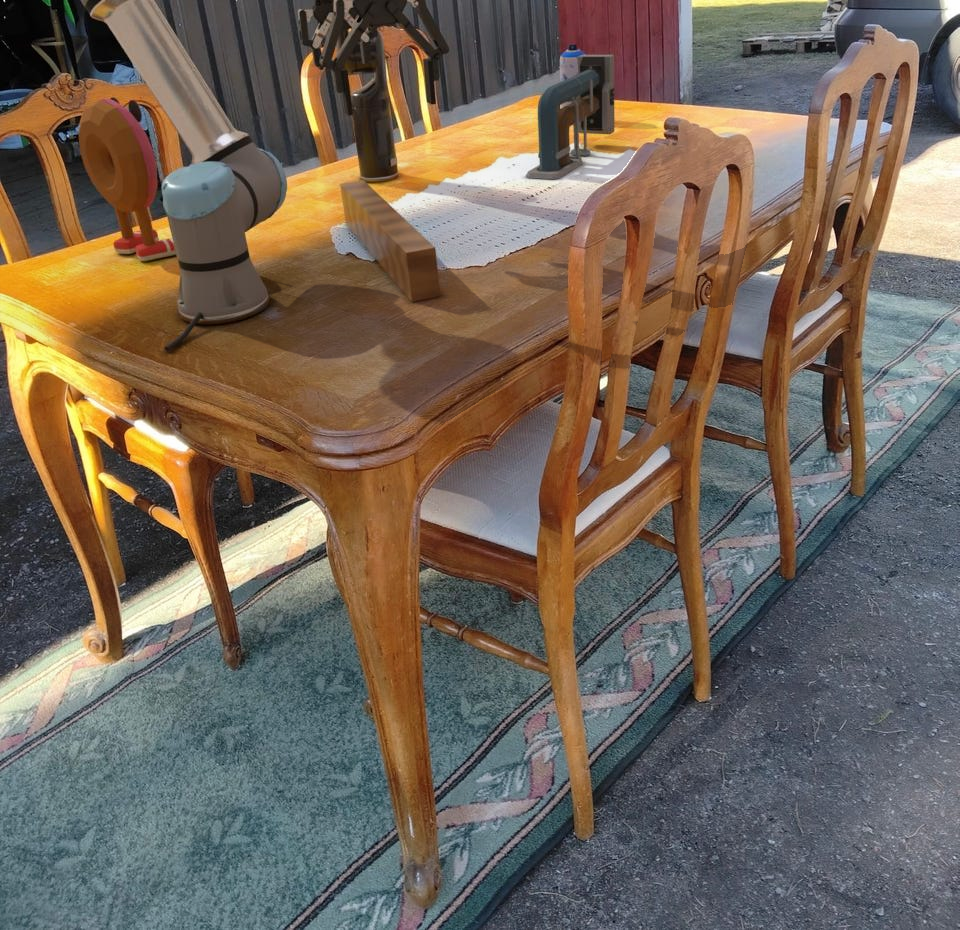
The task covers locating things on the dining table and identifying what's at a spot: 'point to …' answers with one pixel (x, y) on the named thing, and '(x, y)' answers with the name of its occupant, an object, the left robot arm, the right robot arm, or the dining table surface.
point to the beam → (391, 241)
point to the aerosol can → (569, 65)
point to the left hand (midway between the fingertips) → (390, 108)
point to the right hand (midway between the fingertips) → (343, 66)
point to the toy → (123, 172)
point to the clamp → (574, 115)
